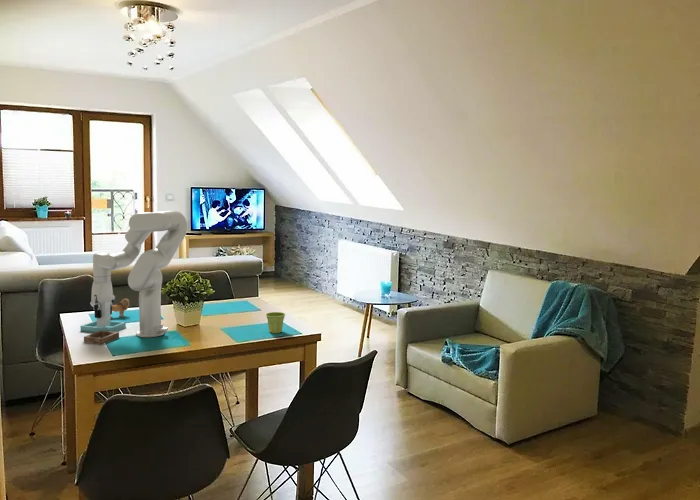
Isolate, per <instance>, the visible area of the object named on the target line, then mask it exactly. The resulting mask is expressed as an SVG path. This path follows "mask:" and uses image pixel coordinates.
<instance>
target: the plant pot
mask: <svg viewBox="0 0 700 500" xmlns="http://www.w3.org/2000/svg"><path fill="white" fill-rule="evenodd" d="M265 316H266V319H267V324H268V331H269V333H270V334H271V333H272V334H279V333H282V332H283V327H284V320H285V317H286V313H285V312H281V311H273V312H271V311H270V312H267V313H265Z"/></svg>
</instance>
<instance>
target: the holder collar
mask: <svg viewBox="0 0 700 500" xmlns="http://www.w3.org/2000/svg"><path fill="white" fill-rule="evenodd" d="M119 338H120V332H119V331H115V332H111V331H103V330H101V331H98V332H95V333H91V334H87V335H84V336H83V342H84V343H87V344H96V345H104V343H105V344H107V343H110V342H112V341H114V339H115V340H117V339H119ZM109 341H110V342H109Z"/></svg>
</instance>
